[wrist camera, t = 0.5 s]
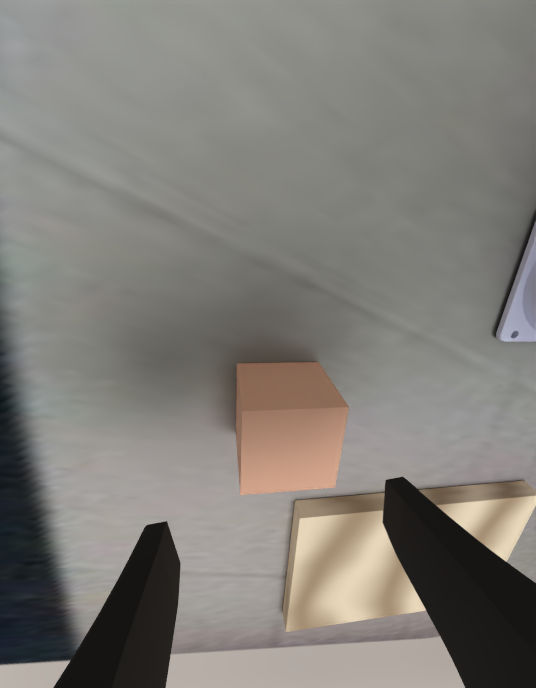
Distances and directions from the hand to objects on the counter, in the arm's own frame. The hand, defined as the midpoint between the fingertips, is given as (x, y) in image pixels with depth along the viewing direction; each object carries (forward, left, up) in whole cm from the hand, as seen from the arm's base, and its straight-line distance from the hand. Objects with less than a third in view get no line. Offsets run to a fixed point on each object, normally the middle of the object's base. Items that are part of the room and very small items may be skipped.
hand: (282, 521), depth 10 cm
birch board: (-13, +17, -9) cm, 24 cm away
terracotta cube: (-1, +1, -10) cm, 10 cm away
